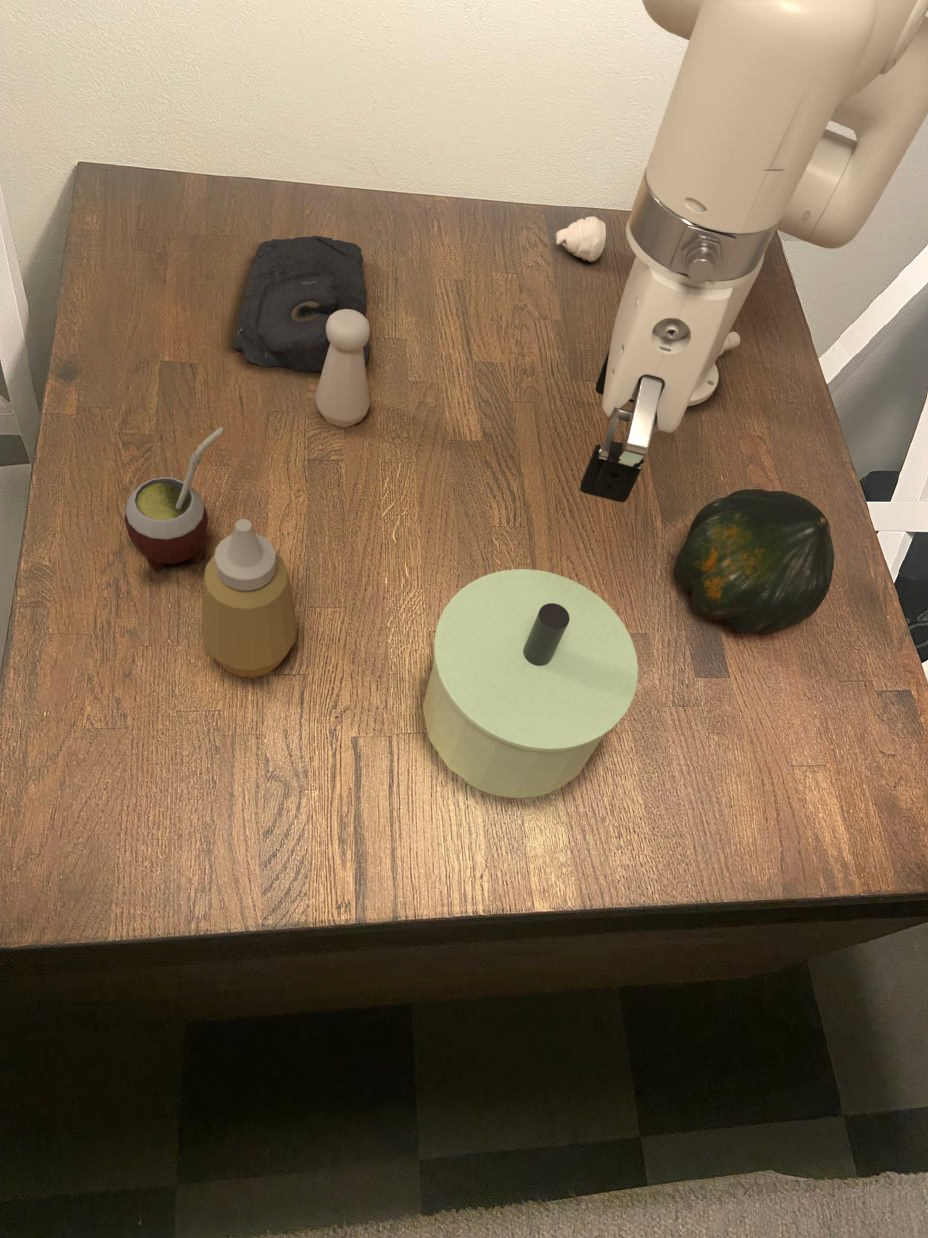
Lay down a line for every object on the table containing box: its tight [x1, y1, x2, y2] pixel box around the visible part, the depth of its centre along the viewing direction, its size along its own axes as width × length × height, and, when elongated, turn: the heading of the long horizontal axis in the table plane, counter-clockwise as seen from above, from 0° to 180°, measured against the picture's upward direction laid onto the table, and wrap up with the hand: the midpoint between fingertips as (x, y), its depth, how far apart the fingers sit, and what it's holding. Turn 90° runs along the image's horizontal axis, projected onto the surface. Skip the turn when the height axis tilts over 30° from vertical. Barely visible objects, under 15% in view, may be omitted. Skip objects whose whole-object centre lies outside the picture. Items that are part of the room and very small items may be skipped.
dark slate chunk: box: [232, 235, 371, 373], centre depth 106 cm, size 15×22×5 cm
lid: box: [433, 568, 639, 752], centre depth 72 cm, size 17×17×7 cm
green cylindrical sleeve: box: [422, 661, 604, 799], centre depth 78 cm, size 16×16×10 cm
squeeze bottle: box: [200, 518, 298, 678], centre depth 75 cm, size 8×8×18 cm
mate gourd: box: [124, 425, 225, 574], centre depth 80 cm, size 8×8×15 cm
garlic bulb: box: [555, 216, 607, 263], centre depth 120 cm, size 6×6×5 cm
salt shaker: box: [314, 309, 371, 429], centre depth 94 cm, size 6×6×13 cm
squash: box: [672, 488, 835, 634], centre depth 90 cm, size 14×15×15 cm
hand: (609, 442), depth 63 cm, fingers open, 9 cm apart
